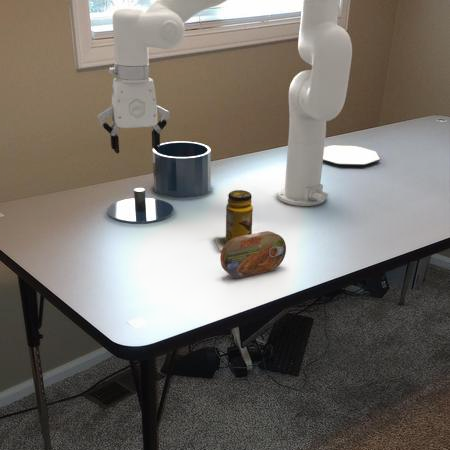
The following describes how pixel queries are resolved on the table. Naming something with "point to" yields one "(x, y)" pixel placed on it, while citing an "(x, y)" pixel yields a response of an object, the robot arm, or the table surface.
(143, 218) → the lid
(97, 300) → the table surface
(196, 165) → the pot
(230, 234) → the condiment
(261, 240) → the tin
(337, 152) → the plate
